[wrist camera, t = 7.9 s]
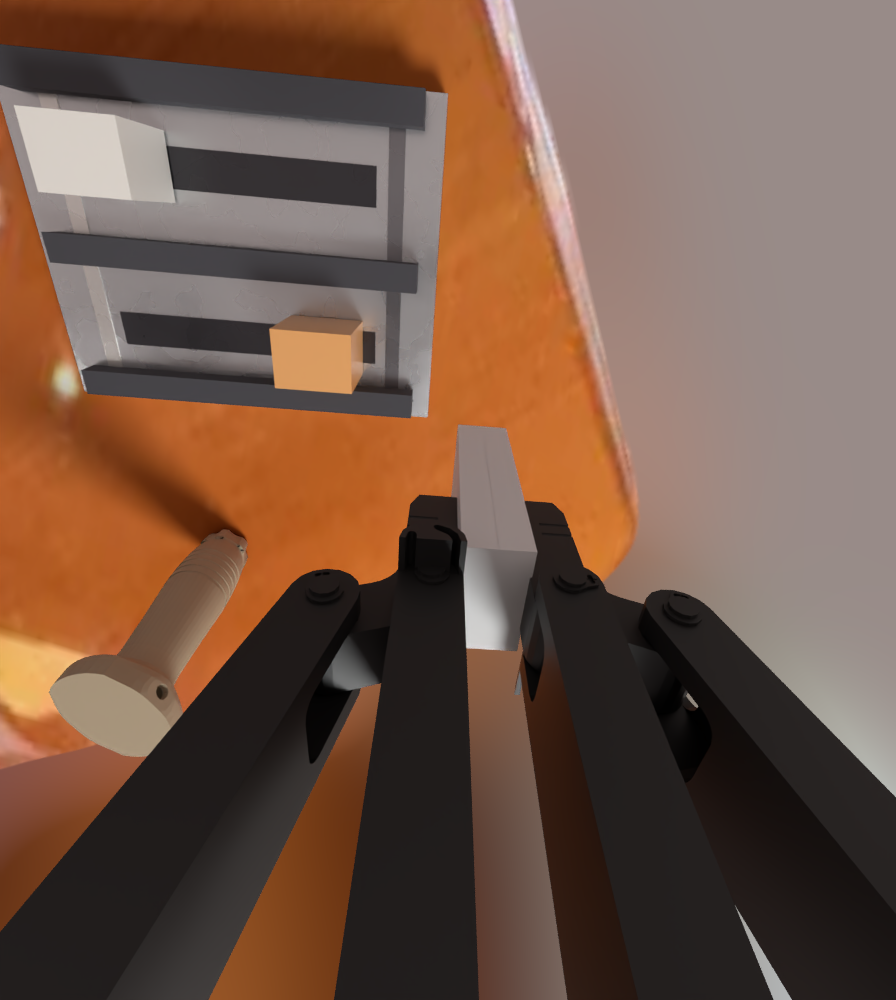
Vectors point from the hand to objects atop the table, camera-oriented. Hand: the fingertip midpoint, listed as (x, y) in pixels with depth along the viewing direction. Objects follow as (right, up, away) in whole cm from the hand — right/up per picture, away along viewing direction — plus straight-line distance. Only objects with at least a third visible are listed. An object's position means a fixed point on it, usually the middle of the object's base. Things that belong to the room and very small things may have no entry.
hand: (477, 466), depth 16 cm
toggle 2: (-8, +8, +13) cm, 17 cm away
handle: (-18, -4, +22) cm, 29 cm away
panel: (-12, +13, +12) cm, 21 cm away
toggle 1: (-17, +16, +9) cm, 24 cm away
